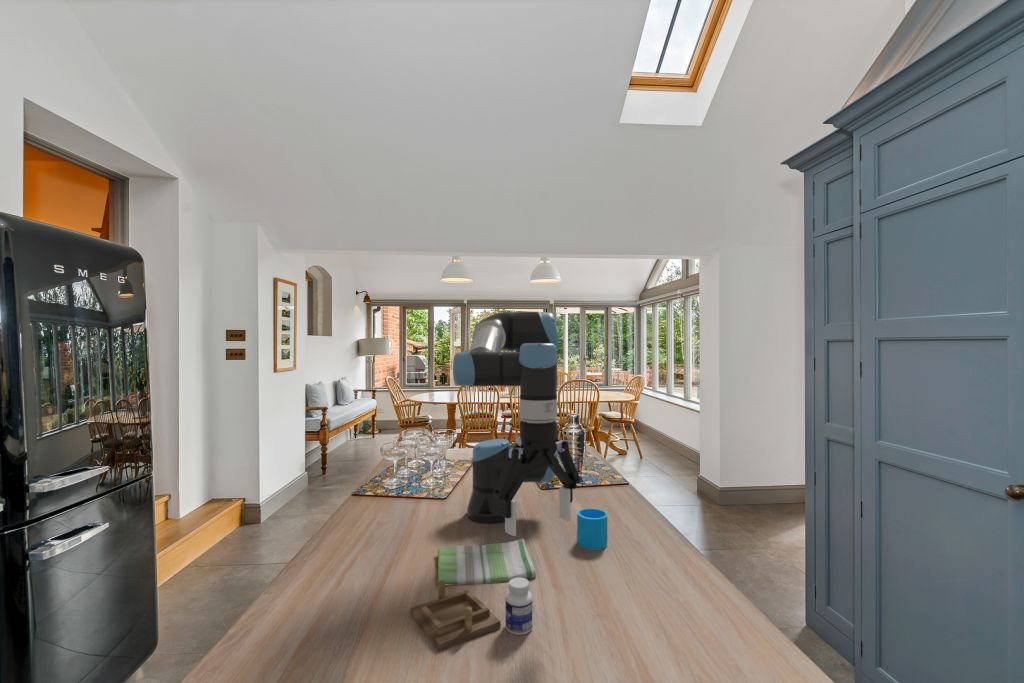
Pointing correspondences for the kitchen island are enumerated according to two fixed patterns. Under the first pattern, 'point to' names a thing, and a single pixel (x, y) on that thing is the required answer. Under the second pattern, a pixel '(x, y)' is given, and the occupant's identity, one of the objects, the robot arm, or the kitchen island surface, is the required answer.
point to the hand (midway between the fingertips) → (538, 526)
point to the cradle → (454, 618)
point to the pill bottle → (519, 607)
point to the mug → (592, 529)
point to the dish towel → (484, 563)
